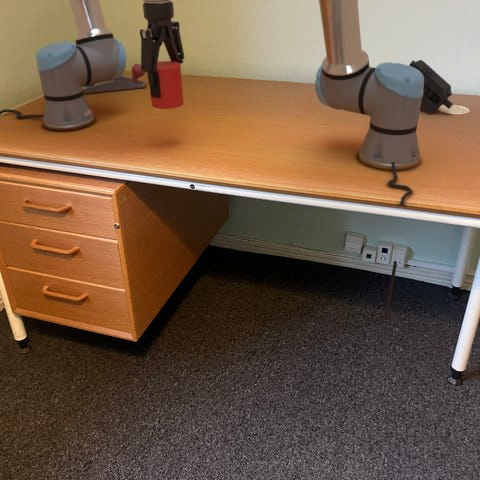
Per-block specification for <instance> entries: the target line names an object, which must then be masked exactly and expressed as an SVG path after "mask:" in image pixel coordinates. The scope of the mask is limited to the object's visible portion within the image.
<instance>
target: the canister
mask: <svg viewBox="0 0 480 480" xmlns="http://www.w3.org/2000/svg"><path fill="white" fill-rule="evenodd" d="M156 72H158V73H159V83H160V93H161V98H155V97H151V96H150V101H151V106H152V107H153V108H155V109H159V110H171V109H176V108H180V107H182V106H183V105H184V92H183V91H184V90H183V79H182V78H183V77H182V66H181V63H178V62H173V61H171V60H164V61H163V60H161V61H158V62H157V68H156Z"/></svg>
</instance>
